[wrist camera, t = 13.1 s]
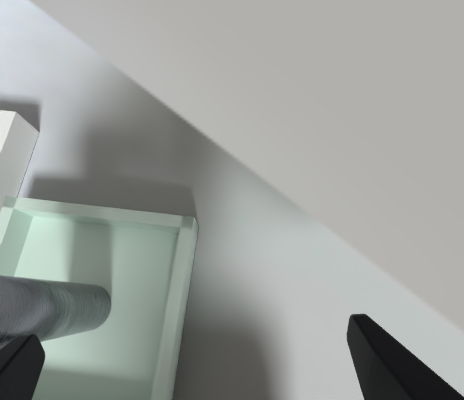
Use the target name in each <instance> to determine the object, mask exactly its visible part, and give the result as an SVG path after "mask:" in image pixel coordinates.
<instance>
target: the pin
mask: <svg viewBox="0 0 464 400" xmlns="http://www.w3.org/2000/svg"><path fill="white" fill-rule="evenodd" d="M110 311H111V299H110V296H109V294H108V292H107V291H106V290H105V289H104V288H102V287H101V286H98V285H94V284H84V283H74V282H63V281H53V280H43V279H33V278H23V277H12V276H2V275H0V349H1V348H3V347H4V346H5V345H6V344H8V343H9V342H10V341H12V340H13V339H14V338H15V337H17V336H18V335H21V334H31V333H34V334H36V335H37V336H38V338H39V340H40V342H43V341H47V340H52V339H56V338H61V337H65V336H69V335H74V334H78V333H82V332H87V331H91V330H94V329H96V328H98V327H100V326H101V325H102V324H103V323H104V322H105V321H106V320H107V318H108V316H109V314H110Z"/></svg>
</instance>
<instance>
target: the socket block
mask: <svg viewBox="0 0 464 400" xmlns="http://www.w3.org/2000/svg"><path fill="white" fill-rule="evenodd" d="M38 135H39V132H38V131H37V130H36V129H35V128H34V127H33V126H32V125H30V124H29V123H28V122H27V121H26V120H25V119H24V118H22V117H21V116H20V115H19V114H18V113H17V112H13V111H3V110H0V212H1V209H2V206H3V203H4V201H5V198H6V196H13V197H17V196H18V193H19V190H20V187H21V184H22V181H23V178H24V175H25V172H26V170H27V167H28V164H29V161H30V158H31V155H32V152H33V149H34V146H35V143H36V141H37V138H38Z"/></svg>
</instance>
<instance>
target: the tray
mask: <svg viewBox="0 0 464 400" xmlns="http://www.w3.org/2000/svg"><path fill="white" fill-rule="evenodd" d="M198 229H199V227H198V224H197V222H196V220H195V218H194V217H190V216H181V215H172V214H163V213H155V212H146V211H137V210H128V209H119V208H110V207H102V206H93V205H84V204H75V203H66V202H57V201H49V200H40V199H31V198H22V197H13V196H6V198H5V201H4V203H3V206H2V209H1V212H0V275H2V276H12V277H23V278H33V279H43V280H53V281H63V282H74V283H84V284H94V285H98V286H101V287H102V288H104V289H105V290H106V291H107V292H108V294H109V296H110V299H111V311H110V314H109V316H108V318H107V320H106V321H105V322H104V323H103V324H102V325H101V326H100V327H98V328H96V329H94V330H91V331H87V332H82V333H78V334H74V335H69V336H65V337H61V338H56V339H52V340H47V341H43V342H41V344H42V347H43V349H44V351H45V361H44V365H43V368H42V371H41V374H40V377H39V380H38V383H37V386H36V389H35V392H34V395H33V398H32V400H172V398H173V392H174V385H175V379H176V372H177V366H178V359H179V353H180V346H181V340H182V333H183V327H184V320H185V314H186V307H187V301H188V294H189V288H190V281H191V275H192V268H193V262H194V255H195V249H196V242H197V236H198Z"/></svg>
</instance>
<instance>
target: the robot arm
mask: <svg viewBox="0 0 464 400" xmlns="http://www.w3.org/2000/svg"><path fill="white" fill-rule="evenodd" d="M347 342H348V346H349V349H350V353H351V356H352V359H353V363H354V366H355V370H356V373H357V377H358V380H359V384H360V387H361V391H362V394H363V397H364V400H464V397H463V396H462V395H461V394H460V393H458V392H457V391H456V390H455V389H454V388H453V387H451V386H450V385H449V384H448V383H447V382H445V381H444V380H443V379H442V378H441V377H440V376H438V375H437V374H436V373H435V372H434V371H432V370H431V369H430V368H429V367H428V366H427V365H425V364H424V363H423V362H422V361H421V360H419V359H418V358H417V357H416V356H415V355H414V354H412V353H411V352H410V351H409V350H408V349H406V348H405V347H404V346H403V345H402V344H401V343H399V342H398V341H397V340H396V339H395V338H393V337H392V336H391V335H390V334H389V333H388V332H386V331H385V330H384V329H383V328H382V327H380V326H379V325H378V324H377V323H376V322H375V321H373V320H372V319H371V318H370V317H369V316H367V315H366V314H352V315H351V316H350V318H349V324H348V330H347ZM44 361H45V351H44V349H43V347H42V344H41V342H40V340H39V338H38V336H37V335H36V334H34V333H31V334H21V335H18V336H17V337H15V338H14V339H13V340H12V341H10V342H9V343H8V344H6V345H5V346H4V347H3V348H1V349H0V400H32V398H33V395H34V392H35V389H36V386H37V383H38V380H39V377H40V374H41V371H42V368H43V365H44Z"/></svg>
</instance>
